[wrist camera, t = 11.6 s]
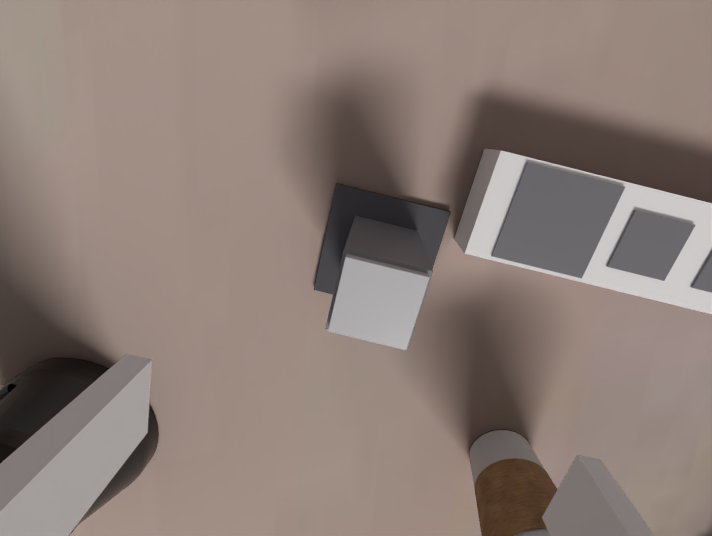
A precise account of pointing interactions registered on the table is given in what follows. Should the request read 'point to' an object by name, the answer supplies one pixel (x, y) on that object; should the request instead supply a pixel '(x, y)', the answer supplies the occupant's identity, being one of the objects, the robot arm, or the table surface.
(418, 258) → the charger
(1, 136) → the table surface
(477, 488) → the coffee cup
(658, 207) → the power strip
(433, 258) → the mat
